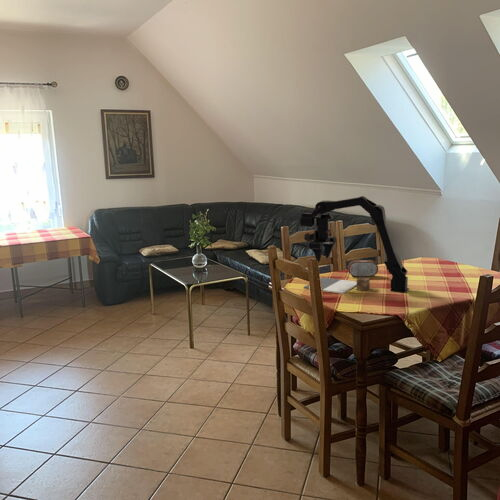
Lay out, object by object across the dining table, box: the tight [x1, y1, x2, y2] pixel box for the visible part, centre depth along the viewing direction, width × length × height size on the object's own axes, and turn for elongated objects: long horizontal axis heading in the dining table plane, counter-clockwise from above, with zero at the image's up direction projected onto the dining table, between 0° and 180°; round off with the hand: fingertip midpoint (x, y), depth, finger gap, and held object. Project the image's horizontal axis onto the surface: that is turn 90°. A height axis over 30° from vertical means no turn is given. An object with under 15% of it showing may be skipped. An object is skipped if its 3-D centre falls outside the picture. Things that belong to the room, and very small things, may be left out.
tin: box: [347, 259, 379, 278], centre depth 252 cm, size 15×3×8 cm, turn 84°
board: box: [303, 277, 357, 295], centre depth 238 cm, size 20×20×1 cm
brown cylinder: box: [356, 277, 371, 292], centre depth 230 cm, size 4×4×5 cm
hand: (322, 260), depth 238 cm, fingers open, 9 cm apart
